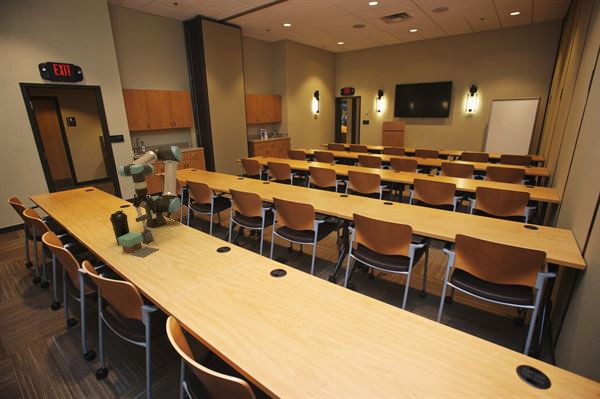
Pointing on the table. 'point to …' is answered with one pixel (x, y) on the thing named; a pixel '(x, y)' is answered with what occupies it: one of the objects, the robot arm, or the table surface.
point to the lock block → (147, 237)
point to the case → (132, 248)
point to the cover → (130, 239)
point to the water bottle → (119, 224)
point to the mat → (144, 252)
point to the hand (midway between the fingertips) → (147, 217)
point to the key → (144, 222)
